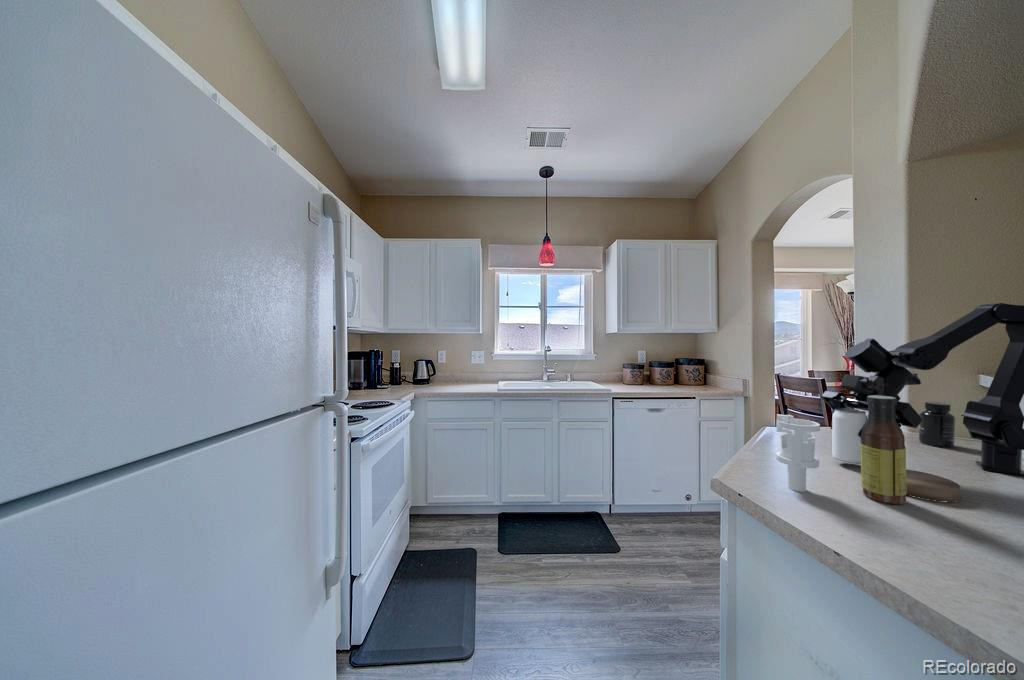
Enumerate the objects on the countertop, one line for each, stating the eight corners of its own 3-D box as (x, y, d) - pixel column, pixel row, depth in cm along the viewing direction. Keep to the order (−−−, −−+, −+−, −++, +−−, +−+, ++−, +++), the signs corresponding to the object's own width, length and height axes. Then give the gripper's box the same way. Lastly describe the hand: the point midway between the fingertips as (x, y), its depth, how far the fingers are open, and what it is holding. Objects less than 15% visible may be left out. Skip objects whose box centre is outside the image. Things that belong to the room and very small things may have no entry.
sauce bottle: (893, 494, 74) (895, 395, 74) (915, 508, 68) (918, 400, 68) (852, 489, 76) (854, 393, 76) (870, 502, 70) (872, 398, 70)
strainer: (775, 479, 82) (776, 411, 81) (816, 486, 78) (818, 415, 77) (775, 490, 76) (776, 417, 76) (820, 499, 72) (821, 422, 71)
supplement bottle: (911, 441, 110) (912, 401, 110) (932, 440, 111) (933, 400, 110) (940, 448, 103) (941, 405, 103) (962, 448, 104) (963, 405, 104)
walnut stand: (877, 475, 84) (877, 464, 84) (951, 488, 77) (952, 476, 77) (883, 491, 75) (883, 479, 75) (967, 508, 68) (967, 494, 68)
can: (875, 465, 86) (875, 413, 86) (843, 463, 88) (843, 412, 87) (856, 456, 93) (856, 408, 92) (826, 454, 94) (826, 407, 94)
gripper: (827, 360, 99) (790, 403, 98) (911, 366, 81) (867, 419, 79) (852, 388, 100) (816, 431, 99) (941, 401, 82) (898, 453, 81)
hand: (845, 432), depth 90 cm, fingers closed on can, 6 cm apart
